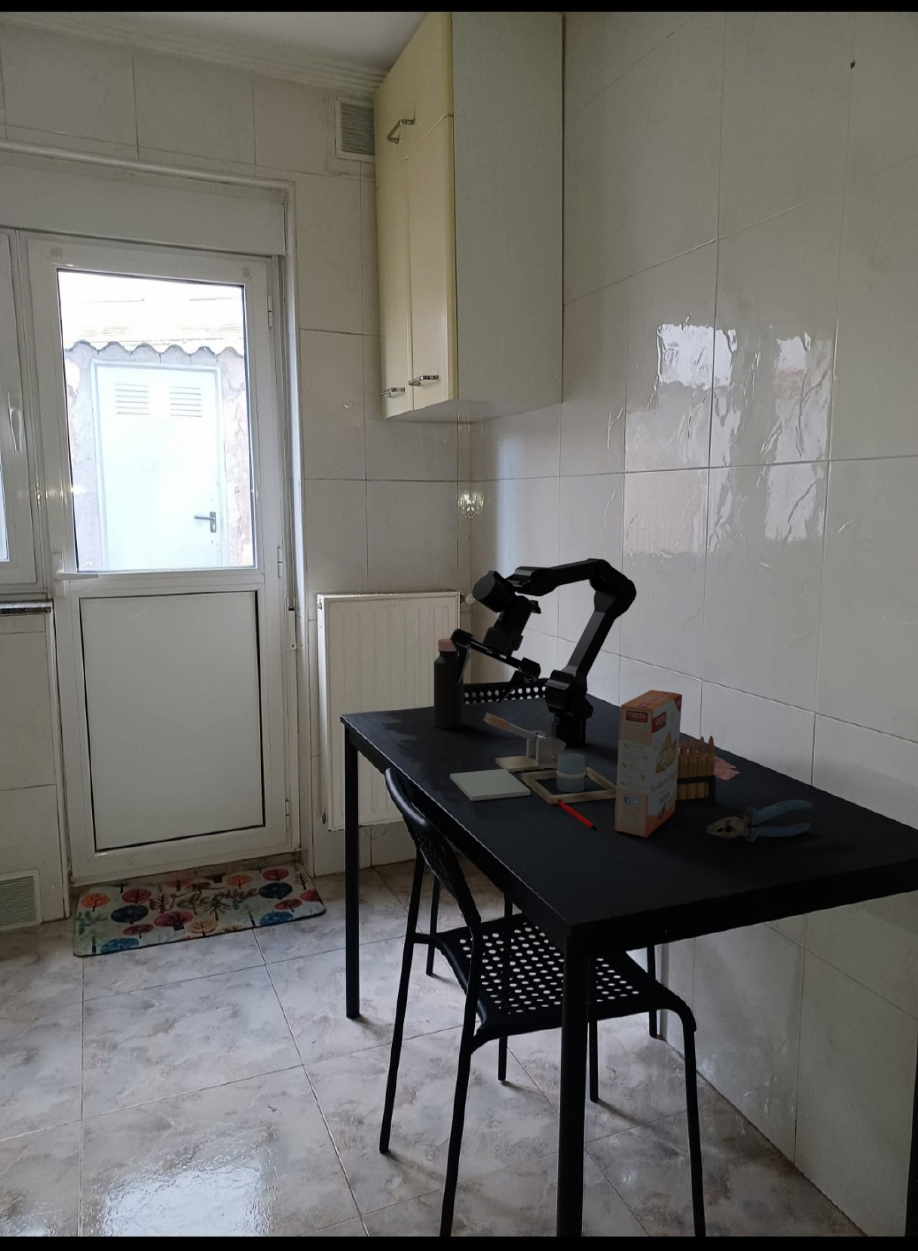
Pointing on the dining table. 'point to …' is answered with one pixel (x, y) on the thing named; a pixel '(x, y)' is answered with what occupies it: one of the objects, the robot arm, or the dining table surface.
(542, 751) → the base
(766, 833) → the pliers
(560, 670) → the robot arm
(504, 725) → the cutter handle
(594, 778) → the open square beige frame
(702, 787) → the ammunition clip
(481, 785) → the pad
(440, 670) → the bottle
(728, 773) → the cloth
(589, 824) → the pen
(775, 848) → the dining table surface
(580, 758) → the grey round canister
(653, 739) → the cracker box
